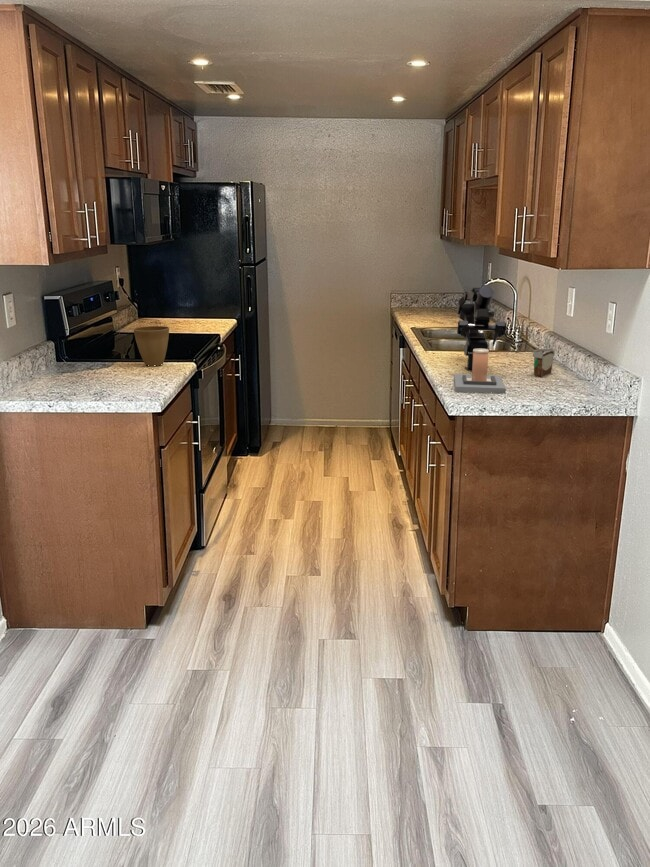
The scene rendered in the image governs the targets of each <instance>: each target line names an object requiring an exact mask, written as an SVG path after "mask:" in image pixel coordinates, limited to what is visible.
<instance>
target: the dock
mask: <svg viewBox="0 0 650 867" xmlns="http://www.w3.org/2000/svg"><path fill="white" fill-rule="evenodd" d="M453 383H454V391H455V393H470V392H488V393H487V394H499V393H505V394H506V390H507V388H506V386H505V383H504V381H503V379H502V376H501V374H487V381H472V373H453ZM491 392H492V393H491Z"/></svg>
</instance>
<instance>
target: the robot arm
mask: <svg viewBox="0 0 650 867" xmlns="http://www.w3.org/2000/svg"><path fill="white" fill-rule="evenodd" d="M494 294H495V291H494V289H493V288H492V287H490V286H489V285H488V284H482V287H472V288H470V290H466V291H464V293H463V295H462V297H461V298H460V299H459V300H458V303H457V305H456V306H457V307H456V314H457V315H458V317H459V319H460V320H459V321H458V322H457V330H456V332H457V334H458V335H460V336H462V337H463V338H464V339H465V341H466V342H465V345H464V348H463V354H464V356H466V357H467V365H466V366H464V369H466V370H467V371H469V370H472V366H473V349H476V348H483V349H488V348H489V344H488V341H487V340H486V337H485V334H484V332H485V331H487V332H489V331H492V332H494V333H493V340H492V347H494V346H495V345H496V342H497V340H498V339H499V338H500V337H502V336H505V334H506V331H507V323H506V322H505V321H495V324H494V325H493V324H490V320H491V318H495V317H494V316H495V308H494V307H493V308H492V307H490V308H489V306H490V305H491V303H492V300H493V297H494ZM466 301H468V302H470V301H471V303H466ZM472 302H473V303H472ZM480 331H482V332H480ZM483 331H484V332H483Z"/></svg>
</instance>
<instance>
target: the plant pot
mask: <svg viewBox="0 0 650 867" xmlns="http://www.w3.org/2000/svg"><path fill="white" fill-rule="evenodd" d="M133 333H134V338H135V342H136V345H137V346H136V347H137V349H138V351H139V354H140V356H141V359H142V362H143V363H144V366H145V365H149V366H154V365H161V364H163V365H164V361H165V359H166V354H167V350H168V343H169V336H170V327H169V326H165V325H164V326H163V325H148V326H138V327H134V328H133ZM149 366H148V367H149ZM161 366H162V365H161Z"/></svg>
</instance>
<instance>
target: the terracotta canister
mask: <svg viewBox="0 0 650 867" xmlns="http://www.w3.org/2000/svg"><path fill="white" fill-rule="evenodd" d="M489 353H490V350H489V349H483V348H476V349H473V366H472V371H471V374H472V381H487V375H488V367H489V366H488V364H489Z"/></svg>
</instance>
